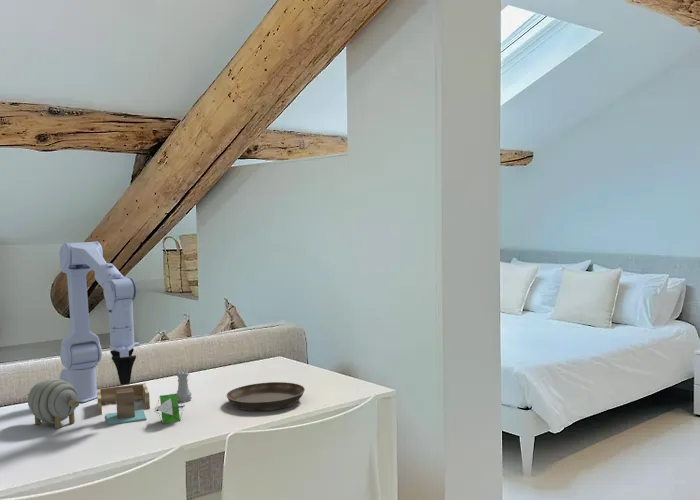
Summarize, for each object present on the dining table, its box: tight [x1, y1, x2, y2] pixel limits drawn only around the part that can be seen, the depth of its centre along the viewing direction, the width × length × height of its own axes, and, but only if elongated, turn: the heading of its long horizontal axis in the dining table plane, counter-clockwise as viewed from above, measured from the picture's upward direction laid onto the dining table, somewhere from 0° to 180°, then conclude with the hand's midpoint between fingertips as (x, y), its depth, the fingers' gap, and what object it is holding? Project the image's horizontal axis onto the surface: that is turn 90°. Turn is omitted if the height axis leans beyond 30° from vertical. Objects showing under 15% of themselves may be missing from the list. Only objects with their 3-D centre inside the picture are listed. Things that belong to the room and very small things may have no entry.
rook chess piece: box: [176, 369, 193, 403], centre depth 184 cm, size 4×4×8 cm
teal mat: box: [105, 408, 147, 426], centre depth 169 cm, size 9×9×1 cm
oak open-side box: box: [96, 383, 151, 416], centre depth 180 cm, size 12×13×4 cm
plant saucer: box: [226, 381, 306, 412], centre depth 180 cm, size 21×21×3 cm
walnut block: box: [115, 388, 136, 419], centre depth 169 cm, size 4×4×6 cm
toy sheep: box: [26, 378, 80, 429], centre depth 165 cm, size 11×17×11 cm, turn 65°
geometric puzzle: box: [154, 392, 186, 425], centre depth 165 cm, size 7×7×8 cm
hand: (124, 380), depth 169 cm, fingers open, 7 cm apart
